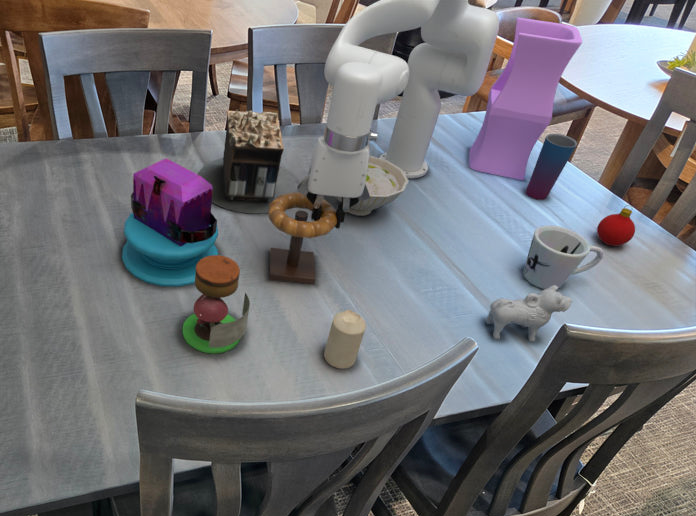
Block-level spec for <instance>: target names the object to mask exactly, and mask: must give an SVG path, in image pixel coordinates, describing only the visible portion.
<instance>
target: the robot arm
mask: <svg viewBox="0 0 696 516" xmlns="http://www.w3.org/2000/svg"><path fill="white" fill-rule="evenodd" d="M419 28H420V37H421V39H422V41H423V43H420V44H418V45H416V46H414V48H413V49H412V50H411V52H410V54H409V56H408V60H407V62H406V60H405V59H403V58H401V57H399V56H397V55H393V54H389V53H385V52H382V51H378V50H374V49H372V48H371V49H370V48H367V47H363V46H360V45H361V44H363V43H364V42H366V41H367V40H370V39H372V38H376V37H378V36H383V35H390V34H395V33H396V34H397V33H401V32H406V31H412V30H416V29H419ZM499 28H500V18H499V16H498V14H497V13H496V12H495V11H493V10H492V9H490V8H489V9H488V8H485V7H481V6H475V5H472V4H470V3H469V0H377V1H376V2H373V3H371V4H370V5H368V6H367V7H365V8H363V9H362V10H360V11H359V12H357V13H356V14H354V15H353V16H352V17H351V18H350V19H349V20H348V21H347V22H346V23H345V24H344V26H343V27H342V29H341V31H340V32H339V34H338V36H337V38H336V39H335V41H334V43H333V45H332V46H331V49H330V50H329V53H328V55H327V58H326V60H325V64H324V70H323V71H324V73H323V74H324V78H325V81H326V82H327V84H329V85H330V86H332V87H333V89H332V93H331V98H330V103H329V104H330V105H329V108H328V113H327V117H326V118H327V119H326V124H325V129H324V133H323V135H321V136H319V137H318V140H316V141H317V142H316V144H315V147H314V149H313V152H312V155H311V159H310V163H309V168H308V172H307V175H306V176H305V177H304V178H303V180H301V182H300V183H299V184H298V187H297V188H298V193H301V194H302V195H304V196H306V197H307V199H308V200H309V201H310V202H311V203H312V204H313V210H312V211H311V215H310V216H311V220H313V221H317V220H319V219H320V218H321V212H322V205H321V202H322V200H323V199H324V197H325V196H329V197H335V196H338V197H342V201H341V202H340V201H339V202H338V203H337V206H336V216H337V224H336V226H335V227H334V228H336V229H338V230H339V229H340V227H341V224H343V223H344V222H345V218H346V214H347V211H348V210H349V208H350V207H352V206H354V205H355V204H357V203H358V202H359V201H360V202H361V201H364V200H366V199H369V198H370V194H369V191H368V188H367V186H366V183H365V181H366V176H367V169H368V162H369V156H370V142H372V141H375V142H376V141H377V140H378V132H373V131H372V130H371V128H372V124H373V122H374V121H373V120H374V117H375V111H376V108H377V106H378V105H380V104H384V103H387V102H390V101H392V100H394V99H396V97H398V96H399V95H401V94H402V93H403V94H402V96H401V100H400V104H399V107H398V111H397V114H396V118H395V122H394V126H393V129H392V133H391V136H390V140H389V144H388V148H387V150H386V152H384V153H382V154H381V155H380V156H379V158H380V159H384V160H387V161H389V162H390V163H392V164H394V165H395V166H397V167H399V168H400V169H402V170H403V172H404V174H405V175H406V177H407V179H418V178H421V177H424V176H425V175H426V174H427V173H428V171H429V165H428V162H426V160H425V159H426V156H427V153H428V151H429V146H430V143H431V141H432V138H433V134H434V131H435V128H436V125H437V121H438V118H439V115H440V112H441V109H442V100H441V96H440V93H439V91H442V92H445V93H449V94H452V95H457V96H460V97H472V96H474V95H475V94H477V93H478V91H479V90H480V89H481V87H482V85H483V83H484V81H485V78H486V75H487V72H488V69H489V64H490V62H491V59H492V55H493V51H494V48H495V45H496V40H497V38H498V34H499Z"/></svg>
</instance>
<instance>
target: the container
mask: <svg viewBox="0 0 696 516" xmlns="http://www.w3.org/2000/svg"><path fill="white" fill-rule="evenodd" d="M514 31H515V32H514V39H513V44H512V49H511V52H510V56H509V59H508V61H507V63H506V65H505V67H504V69H503V70H502V72H501V73H500V75H499V76H498V78H497V79H496V81H494V82H493V84H492V85H491V87H490V90H489V92H488V98H487V105H486V109H485V115H484V117H483V118H484V119H483V121H482V125H481V127H480V129H479V132H478V133H477V136H476V137H475V140H474V142H473V143H472V145H471V147H470V149H469V150H468V151H469V152H468V154H469V155H468V167H469V168H470V169H472V170H473V171H477V172H481V173H485V174H490V175H495V176H500V177H505V178H509V179H514V180H519V181H525V178H526V177H525V176H526V171H527V166H528V163H529V158H530V156H531V154H532V151H533V149H534V147H535V145H536V143H537V142H538V140H539V139H540V137H541V136H542V135H543V133H544V132H545V130H546V129H547V128H548V127H549V125H550V123H551V120H552V119H553V111H554V103H555V96H556V92H557V89H558V86H559V83H560V81H561V80H560V79H561V78H562V76H563V73H564V72H565V70H566V68H567V66H568V64H569V63H570V61H571V60H572V58H573V56H574V55H575V54H576V52H577V51H578V50H579V48H580V47H581V45H582V43H583V39H582V36H581V33H580V30H579V28H578V27H575V26H573V25H570V24H564V23H558V22H553V21H544V20H538V19H531V18H525V17H517V18H516V21H515V30H514Z"/></svg>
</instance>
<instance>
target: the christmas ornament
mask: <svg viewBox="0 0 696 516" xmlns="http://www.w3.org/2000/svg"><path fill="white" fill-rule="evenodd" d="M626 207H630V208H633V205H630V204H627V205H625V206H624V207H622V208H621V211H620V212H619V213H613V214H609V215H607V216H605V217H603V218H602V219H601V220H600V221H599V223H598V225H597V227H596V233H597V236H598V238H599V240H600V241H601V242H603V243H604V244H606V245H608V246H611V247H616V246H617V247H618V246H624V245H625V244H627V243H629V242H630V241H631V240H632V239H633V238H634V235H635V233H636V225H635V223H634V221H633V220H632V219H631V215H632V214H633V209H629V208H626Z"/></svg>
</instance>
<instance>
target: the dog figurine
mask: <svg viewBox="0 0 696 516" xmlns="http://www.w3.org/2000/svg"><path fill="white" fill-rule="evenodd" d="M557 290H559V288H558V287H557V286H556V285H553V286H551V287H549V288H547V289H543V290H541V291H540V292H539V293H538V294H536V293H534V292H530V293H528V294H527V295H526V296H525V297H524V298H518V299H509V298H504V297H503V298H502V297H501V298H498V299H495V300H494V301H492V303H491V304H490V307H489V308H490V310H489V311H488V315H487V317H486V319H485V321H486V322H485V323H486V324H487V325H493V326H494V328H493V329H494V330H493V332H492V336H493V338H494V339H498V340H499V339H501V332H502V330H503V329H504V328H505V327H506V326H507V325H508V324H510V323H513V324H516V325H519V326H520V327H521V328H527V327H528V337H527V339H528V341H529V342H536V335H537V333H538V331H539V329H540V328H542V327H544V326H546V325H547V324H548V323H549V322H550V320H551V318H552V314H553V313H558V312H559V313H560V312H563V313H564V312H566V311H568V310H569V309H570V308H571V306H572V302H573V300H572V298H571V297H570V296H564V295H563V294H562V293H561V292H560V291H557Z"/></svg>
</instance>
